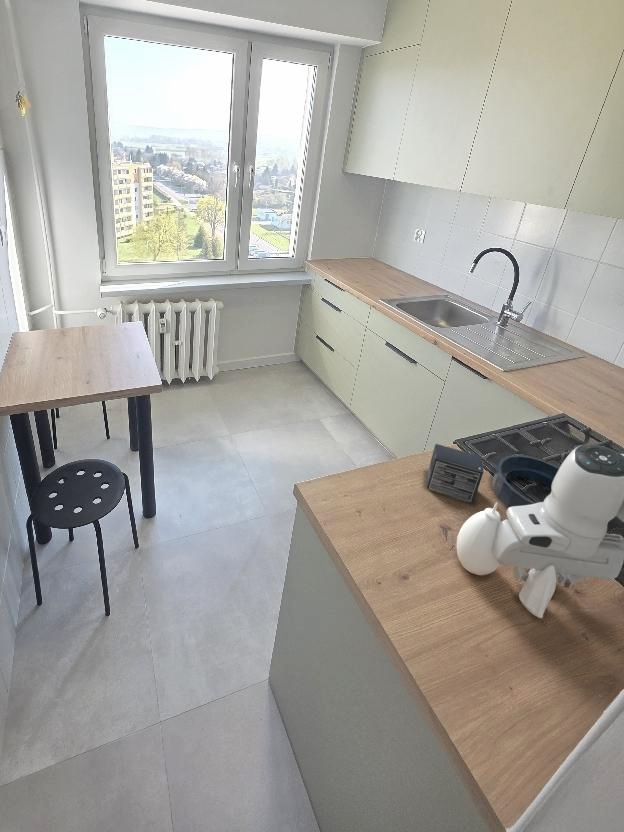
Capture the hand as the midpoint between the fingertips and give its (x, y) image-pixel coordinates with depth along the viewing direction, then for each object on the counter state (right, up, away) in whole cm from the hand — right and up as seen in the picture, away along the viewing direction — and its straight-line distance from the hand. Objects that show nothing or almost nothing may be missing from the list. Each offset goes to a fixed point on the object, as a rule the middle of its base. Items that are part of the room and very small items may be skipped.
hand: (540, 580), depth 78 cm
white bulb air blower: (-9, -1, +7) cm, 12 cm away
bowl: (+15, +5, +23) cm, 28 cm away
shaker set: (0, -4, +2) cm, 4 cm away
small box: (-5, +7, +25) cm, 27 cm away
